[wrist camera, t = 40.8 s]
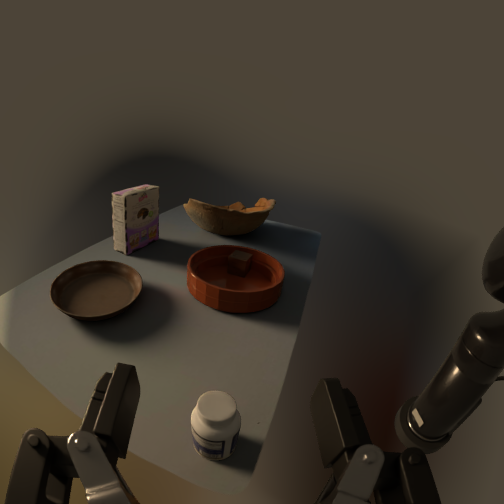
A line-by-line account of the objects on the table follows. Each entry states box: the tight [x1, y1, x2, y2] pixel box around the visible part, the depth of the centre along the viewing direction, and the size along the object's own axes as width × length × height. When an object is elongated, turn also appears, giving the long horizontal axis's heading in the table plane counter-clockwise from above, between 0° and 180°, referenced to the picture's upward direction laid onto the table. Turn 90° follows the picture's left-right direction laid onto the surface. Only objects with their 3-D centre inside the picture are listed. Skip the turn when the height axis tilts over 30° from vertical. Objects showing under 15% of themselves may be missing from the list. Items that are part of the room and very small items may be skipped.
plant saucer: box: [50, 260, 143, 321], centre depth 50 cm, size 21×21×3 cm
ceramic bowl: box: [184, 198, 276, 236], centre depth 92 cm, size 30×27×15 cm
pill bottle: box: [191, 391, 241, 460], centre depth 26 cm, size 5×5×10 cm
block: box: [227, 250, 253, 278], centre depth 68 cm, size 4×4×4 cm
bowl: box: [187, 245, 285, 313], centre depth 62 cm, size 21×21×6 cm
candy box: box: [112, 184, 159, 255], centre depth 73 cm, size 14×6×16 cm, turn 157°
